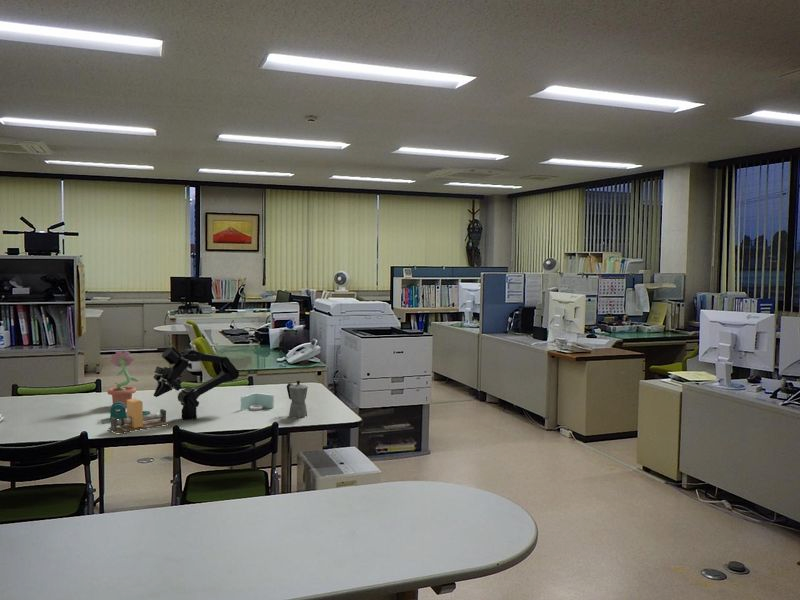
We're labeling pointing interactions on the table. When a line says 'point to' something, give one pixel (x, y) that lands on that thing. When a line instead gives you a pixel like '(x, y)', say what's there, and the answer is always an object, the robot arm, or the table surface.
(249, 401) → the l-shaped corner panel
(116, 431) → the pipe board
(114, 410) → the bracket
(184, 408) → the robot arm
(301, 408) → the coffeepot
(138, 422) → the orange tan block
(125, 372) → the decorative flower
